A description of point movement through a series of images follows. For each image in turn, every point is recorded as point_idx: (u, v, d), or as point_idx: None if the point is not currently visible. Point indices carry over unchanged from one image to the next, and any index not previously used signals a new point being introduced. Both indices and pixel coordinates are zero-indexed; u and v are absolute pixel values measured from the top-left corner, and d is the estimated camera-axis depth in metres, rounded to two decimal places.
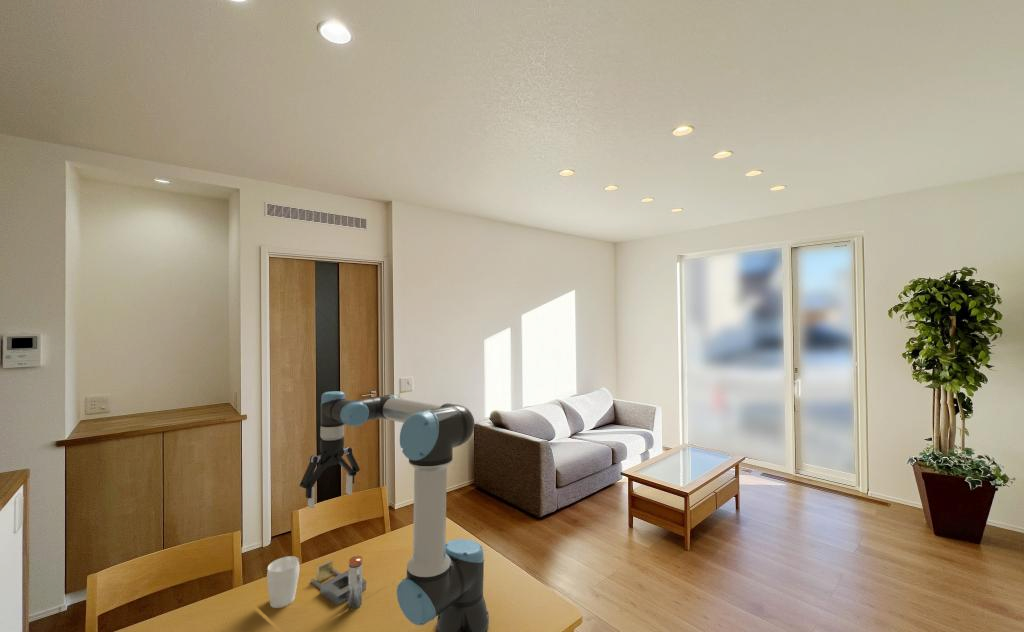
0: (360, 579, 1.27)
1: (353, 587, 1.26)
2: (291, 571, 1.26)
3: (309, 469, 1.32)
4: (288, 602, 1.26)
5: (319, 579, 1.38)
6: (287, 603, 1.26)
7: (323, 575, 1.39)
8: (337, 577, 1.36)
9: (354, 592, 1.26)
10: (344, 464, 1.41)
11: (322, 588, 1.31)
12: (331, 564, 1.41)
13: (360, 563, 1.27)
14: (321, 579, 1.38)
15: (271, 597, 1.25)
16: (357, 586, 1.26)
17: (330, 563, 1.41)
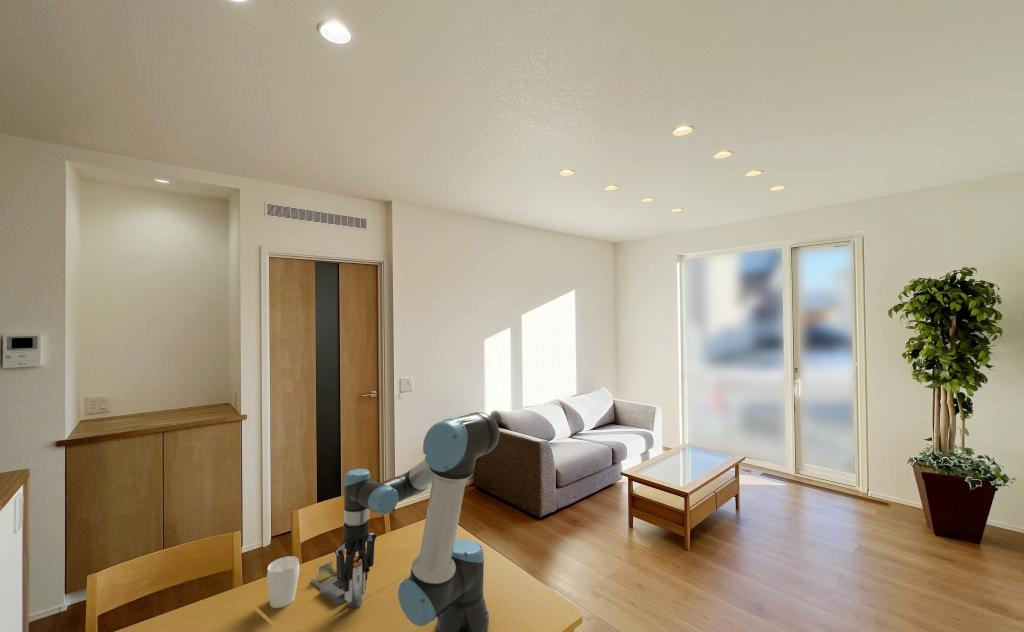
0: (360, 579, 1.27)
1: (353, 587, 1.26)
2: (291, 571, 1.26)
3: (339, 563, 1.23)
4: (288, 602, 1.26)
5: (319, 579, 1.38)
6: (287, 603, 1.26)
7: (323, 575, 1.39)
8: None
9: (354, 592, 1.26)
10: (363, 554, 1.29)
11: (322, 588, 1.31)
12: (331, 564, 1.41)
13: (360, 563, 1.27)
14: (321, 579, 1.38)
15: (271, 597, 1.25)
16: (357, 586, 1.26)
17: (330, 563, 1.41)
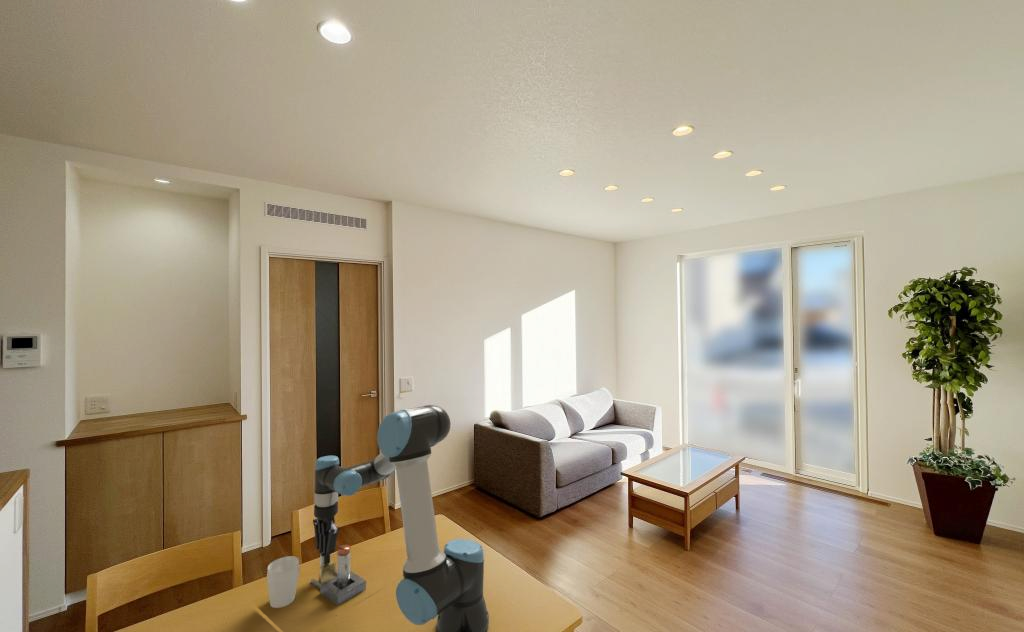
0: (348, 567, 1.32)
1: (341, 574, 1.31)
2: (291, 571, 1.26)
3: None
4: (288, 602, 1.26)
5: (322, 581, 1.37)
6: (287, 603, 1.26)
7: (326, 577, 1.38)
8: None
9: (343, 579, 1.31)
10: (323, 537, 1.38)
11: (322, 588, 1.31)
12: (334, 566, 1.40)
13: (348, 551, 1.32)
14: (324, 581, 1.37)
15: (271, 597, 1.25)
16: (345, 573, 1.32)
17: (333, 565, 1.40)
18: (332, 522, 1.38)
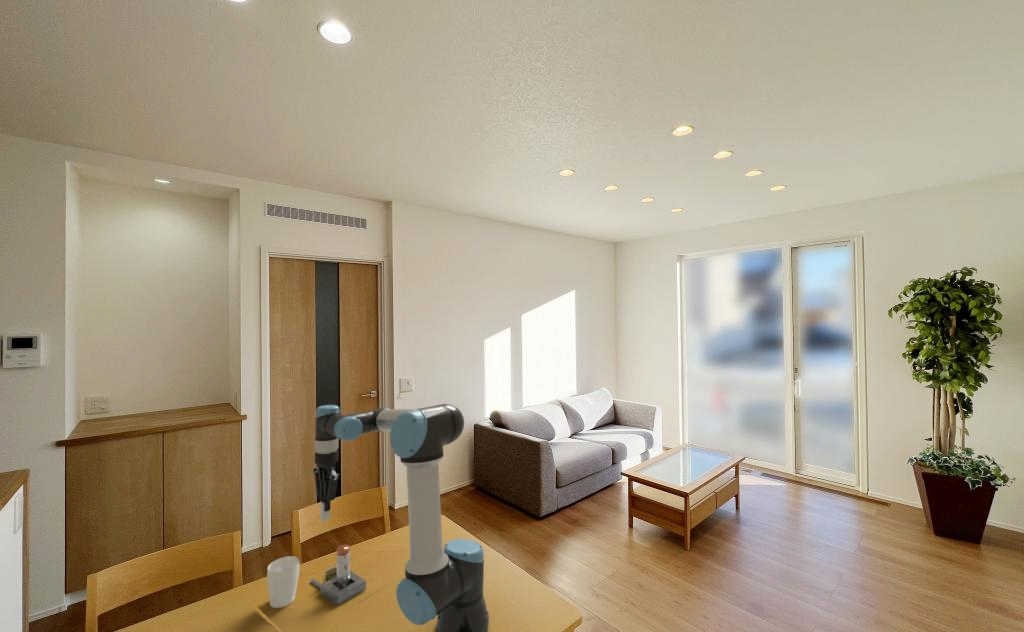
0: (348, 566, 1.32)
1: (341, 574, 1.31)
2: (291, 571, 1.26)
3: None
4: (288, 602, 1.26)
5: None
6: (287, 603, 1.26)
7: None
8: None
9: (342, 579, 1.31)
10: (324, 484, 1.39)
11: (322, 588, 1.31)
12: None
13: (347, 551, 1.33)
14: None
15: (271, 597, 1.25)
16: (345, 573, 1.32)
17: None
18: (332, 469, 1.39)
